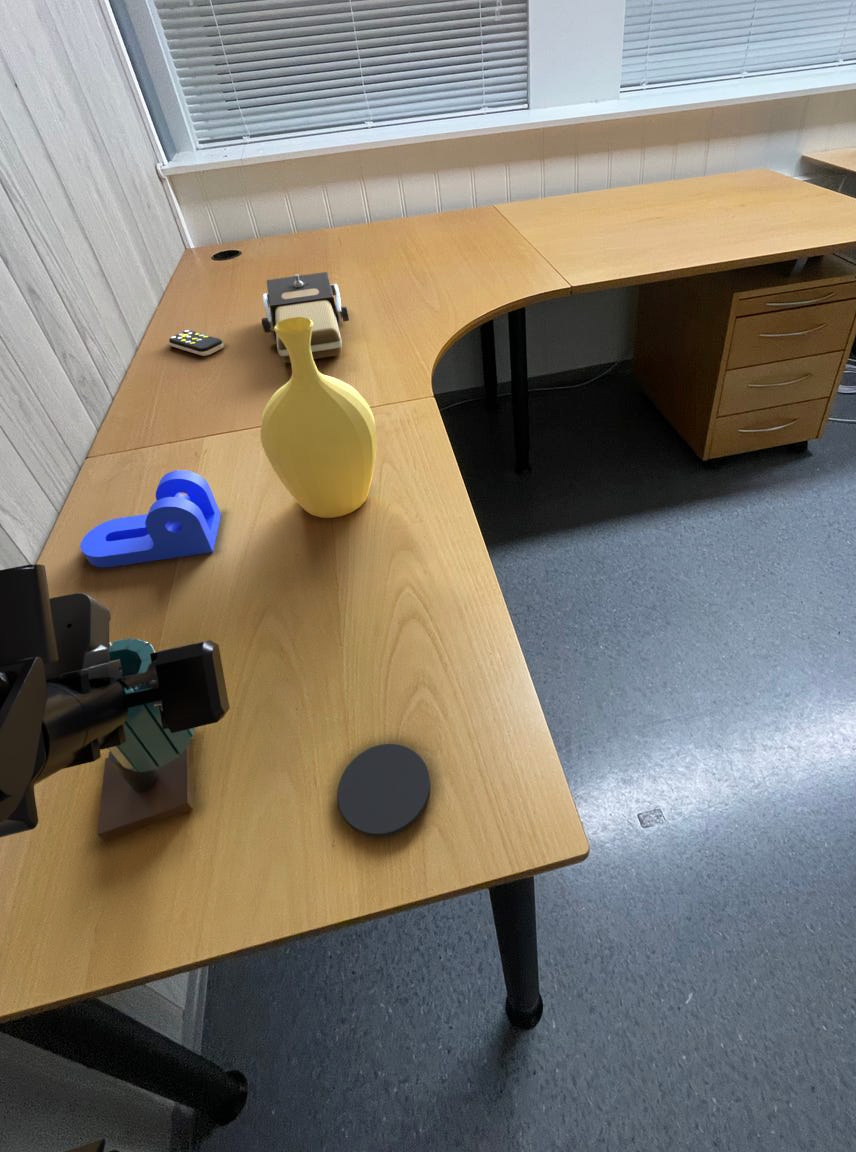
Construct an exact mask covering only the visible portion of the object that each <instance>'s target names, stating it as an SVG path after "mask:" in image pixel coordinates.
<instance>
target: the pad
mask: <svg viewBox="0 0 856 1152" xmlns="http://www.w3.org/2000/svg"><path fill="white" fill-rule="evenodd" d="M430 794H431V777H430V772H429V769H428V767H427V764H426V762H425V761H424V759H423V758H422V757H421V755H419V753H417V752H416V751H415V750H413V749H411V748H410V747H408V746H405V745H402V744H398V743H382V744H377V745H374V746H372V747H369V748H366V749H365V750H363V751H362V752H360V753H359V754H358V755H356V756H355V757H354V758H353V759H352V760H351V761H350V762H349V763H348V765H347V766H346V768H345V769H344V771H343V773H342V775H341V777H340V780H339V783H338V787H337V804H338V808H339V811H340V814H341V815H342V817H343V819H344V821H345V822H346V823H347V824H348V826H349V827H351V828H352V829H353V830H354V831H356V832H358V833H359V834H362V835H365V836H367V837H373V838H375V837H377V838H380V837H382V838H383V837H389V836H392V835H395V834H398V833H401V832H403V831H404V830H405V829H407V828H408V827H410V826H412V825H413V823H414V822H416V820H418V818H419V817H420V816H421V814H422V813H423V811H424V810H425V808H426V806H427V804H428V802H429V799H430Z"/></svg>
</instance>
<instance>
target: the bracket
mask: <svg viewBox="0 0 856 1152" xmlns="http://www.w3.org/2000/svg"><path fill="white" fill-rule="evenodd" d="M158 482H159V483H158V485H157V488H156V490H155V502H153V503H152V504H151V505H150V507H149V510H148V512H147V513H146V514H145V513H144V514H138V515H131V516H123V517H117V518H114V519H110V520H107V521H104V522H103V523H102V522H101V523H100V524H97V526H94V527H93V528H92V529H90V530H89V531H87V533H86V534H85V535H84V536H83V538H82V540H81V542H80V550H81V552H82V553H83V555H84V557H85V558H86V559H87V561H88V563H89V564H90V565H91V566H94V567H97V568H113V567H114V568H115V567H119V566H121V567H122V566H127V565H133V564H141V563H146V562H154V561H155V562H156V561H163V560H167V559H175V558H181V557H189V556H196V555H203V554H210V553H213V552H214V549H215V544H216V541H217V536H218V531H219V527H220V522H221V518H222V514H221V511H220V509H219V506H218V503H217V500H216V499H215V496H214V494H213V491H212V489H211V486H210V484H209V483H208V481H207V480H206V479H205V477H202V476H201V475H200V474H199V473H196V472H193V471H191V470H184V469H177V470H172V471H169V472H167V473H165V474H164V475H163V476H162V477H161V478H160V480H159V481H158ZM183 493H184V494H183Z"/></svg>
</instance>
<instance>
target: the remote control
mask: <svg viewBox="0 0 856 1152" xmlns="http://www.w3.org/2000/svg"><path fill="white" fill-rule="evenodd" d="M168 342H169V344H170V347H173V348H176V349H179V350H182V351H185V352H189V353H192V354H194V355H198V356H202V357H206V356H210V355H212V354H214V353H216V352H217V351H219V350H221V349H223V348H224V345H225V344H224V342H223V340H222V339H221V338H218V337H214V336H211V335H208V334H205V333H201V332H198V331H193V330H189V329H186V330H184V331H181V332H180V333H177V334H175V335H172V336H170V338H169V340H168Z"/></svg>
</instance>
